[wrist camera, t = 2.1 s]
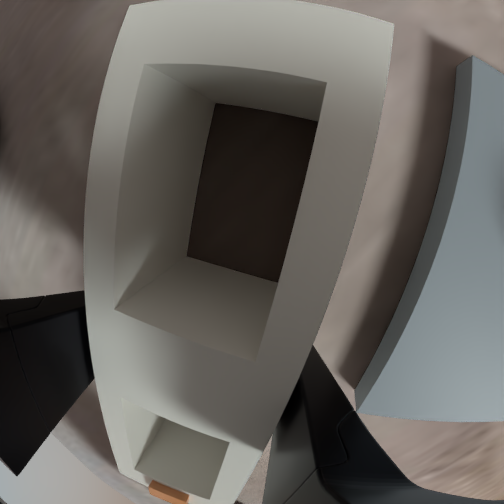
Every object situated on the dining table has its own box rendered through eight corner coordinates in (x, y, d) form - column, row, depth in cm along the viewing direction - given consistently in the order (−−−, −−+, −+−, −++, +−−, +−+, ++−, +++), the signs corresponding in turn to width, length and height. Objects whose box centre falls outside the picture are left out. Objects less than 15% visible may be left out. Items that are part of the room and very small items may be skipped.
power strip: (361, 84, 7) (399, 13, 3) (247, 451, 12) (223, 522, 8) (199, 57, 8) (119, -2, 3) (155, 419, 13) (115, 478, 8)
